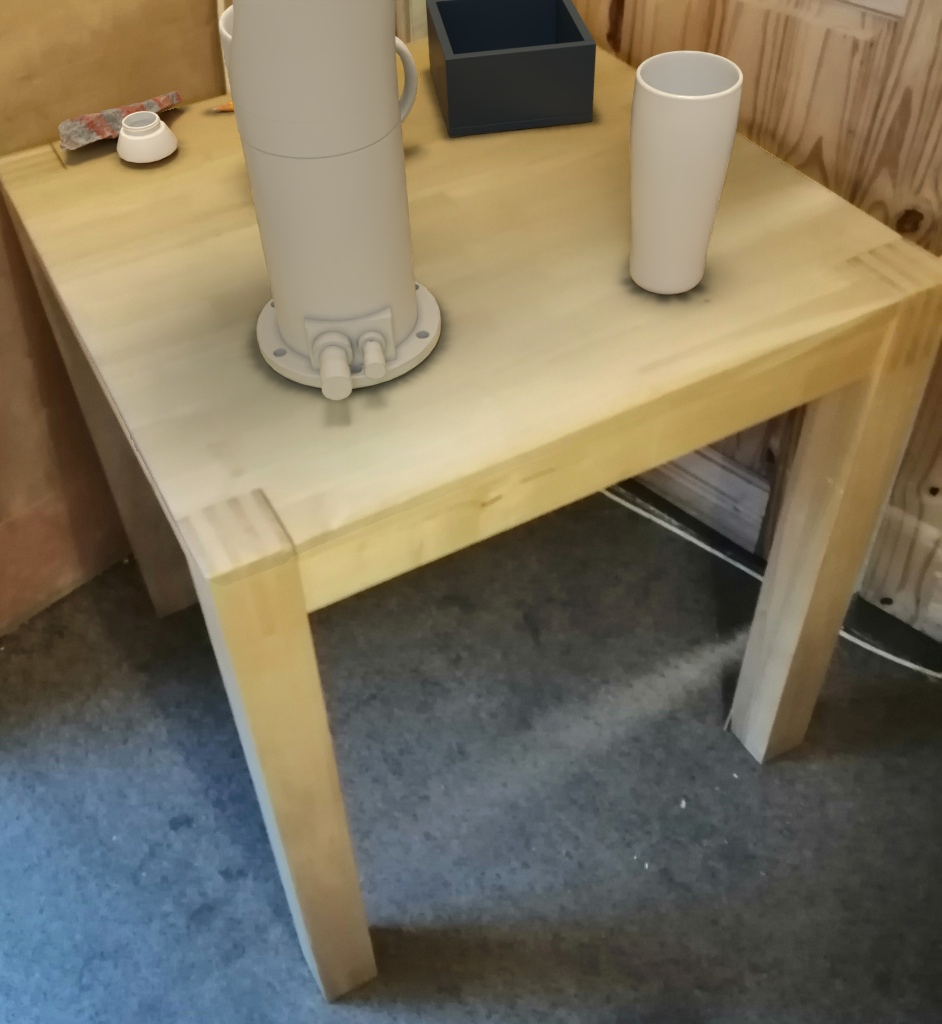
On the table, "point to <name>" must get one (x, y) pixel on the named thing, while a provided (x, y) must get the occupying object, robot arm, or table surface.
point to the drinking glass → (679, 163)
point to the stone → (109, 121)
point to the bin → (510, 64)
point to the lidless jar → (145, 138)
